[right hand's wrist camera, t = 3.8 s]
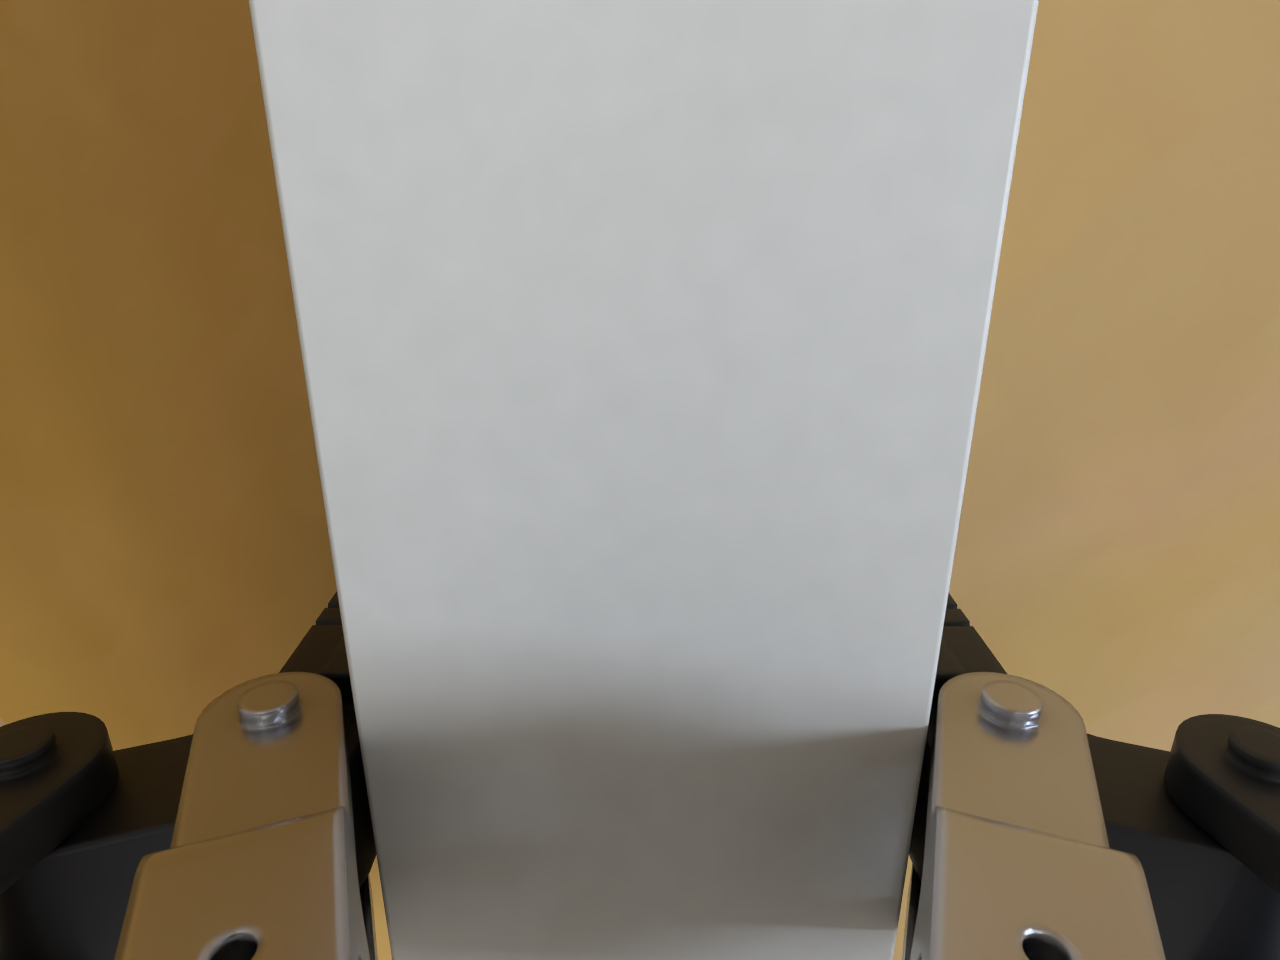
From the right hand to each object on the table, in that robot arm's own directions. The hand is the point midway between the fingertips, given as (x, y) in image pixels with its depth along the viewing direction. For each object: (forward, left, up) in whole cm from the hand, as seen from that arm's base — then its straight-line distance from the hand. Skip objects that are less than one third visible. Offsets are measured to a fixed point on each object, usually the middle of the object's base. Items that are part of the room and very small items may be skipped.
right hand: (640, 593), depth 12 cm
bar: (+8, -24, -2) cm, 25 cm away
